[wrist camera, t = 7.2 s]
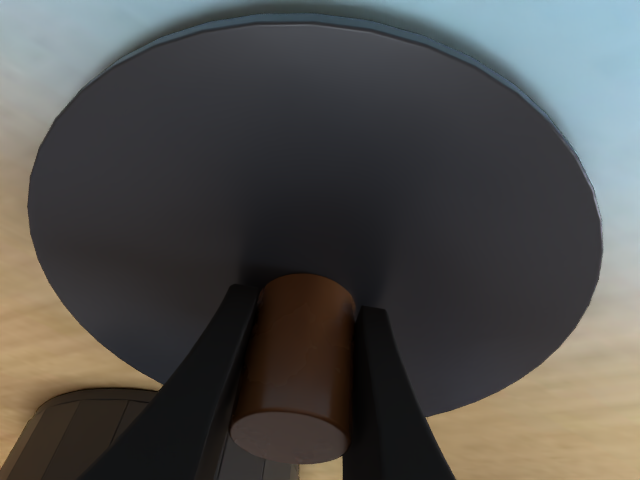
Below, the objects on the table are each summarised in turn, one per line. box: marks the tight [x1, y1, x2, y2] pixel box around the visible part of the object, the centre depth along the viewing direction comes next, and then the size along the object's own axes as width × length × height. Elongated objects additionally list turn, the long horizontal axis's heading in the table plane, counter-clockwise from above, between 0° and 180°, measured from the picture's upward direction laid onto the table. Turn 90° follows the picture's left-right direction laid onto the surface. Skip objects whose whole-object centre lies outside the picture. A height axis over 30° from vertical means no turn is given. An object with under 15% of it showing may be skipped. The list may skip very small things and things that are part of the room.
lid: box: [27, 13, 603, 464], centre depth 11 cm, size 14×14×5 cm
